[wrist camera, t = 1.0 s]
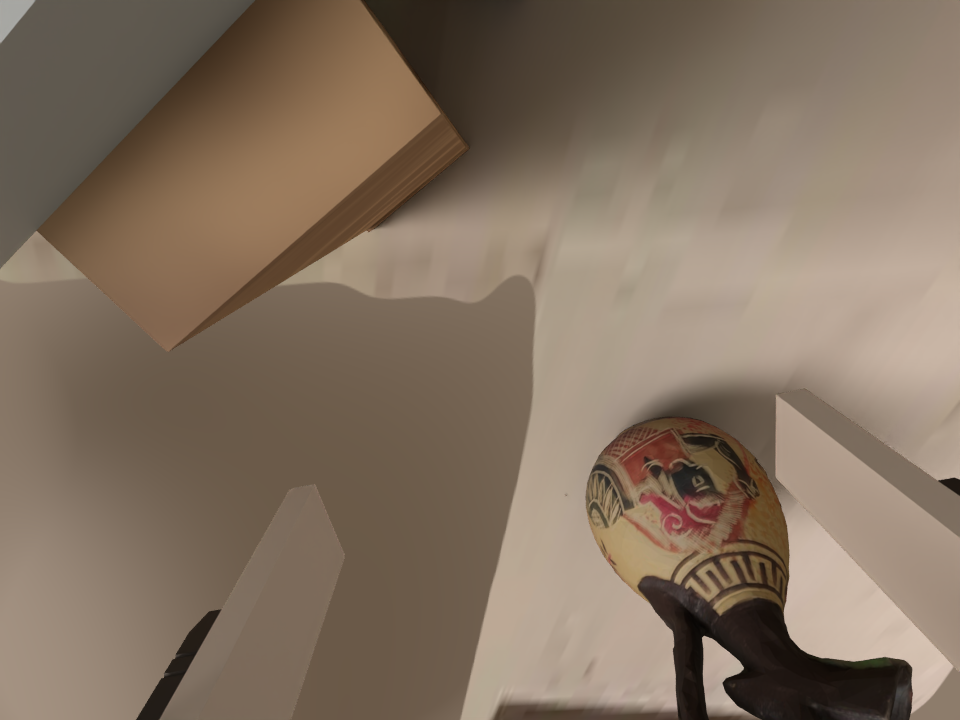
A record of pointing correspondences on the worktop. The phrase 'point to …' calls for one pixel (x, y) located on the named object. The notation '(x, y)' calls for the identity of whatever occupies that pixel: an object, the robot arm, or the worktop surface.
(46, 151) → the foil box
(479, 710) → the worktop surface
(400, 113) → the oak box
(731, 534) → the ceramic jug
